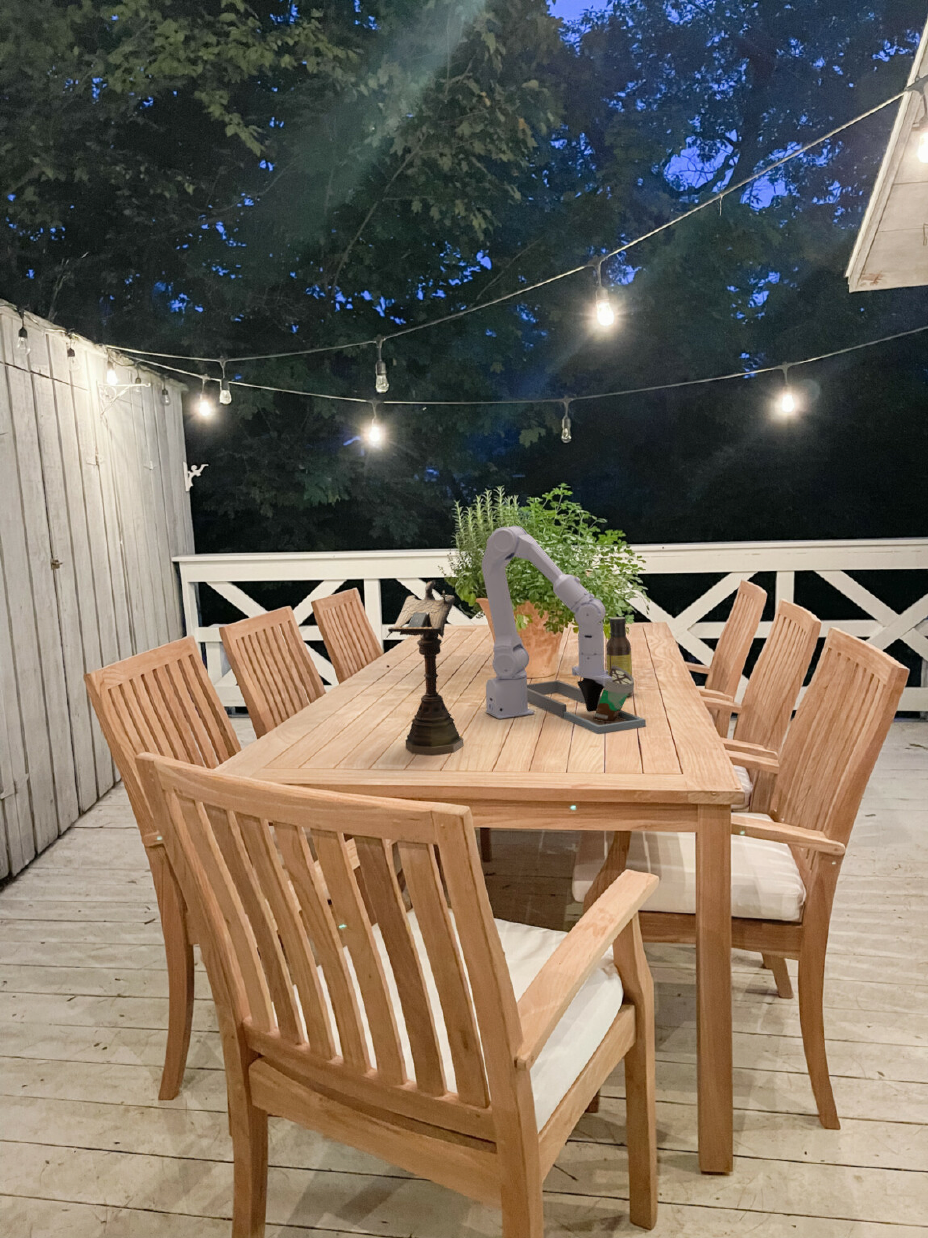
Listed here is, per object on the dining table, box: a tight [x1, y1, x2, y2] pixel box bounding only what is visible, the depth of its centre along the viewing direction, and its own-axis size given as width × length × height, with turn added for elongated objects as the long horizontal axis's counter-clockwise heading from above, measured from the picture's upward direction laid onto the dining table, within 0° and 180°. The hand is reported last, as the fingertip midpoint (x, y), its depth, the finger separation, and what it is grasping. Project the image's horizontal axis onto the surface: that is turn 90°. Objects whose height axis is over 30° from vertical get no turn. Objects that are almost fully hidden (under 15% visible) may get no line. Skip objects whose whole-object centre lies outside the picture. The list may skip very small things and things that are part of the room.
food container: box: [593, 665, 635, 723], centre depth 187 cm, size 12×6×10 cm, turn 164°
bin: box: [527, 679, 601, 719], centre depth 204 cm, size 12×24×3 cm, turn 22°
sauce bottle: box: [605, 616, 633, 697], centre depth 209 cm, size 6×6×20 cm
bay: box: [563, 709, 647, 735], centre depth 186 cm, size 12×15×2 cm
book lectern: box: [386, 579, 465, 756], centre depth 168 cm, size 17×13×35 cm
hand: (592, 711), depth 190 cm, fingers closed, pressing on food container
